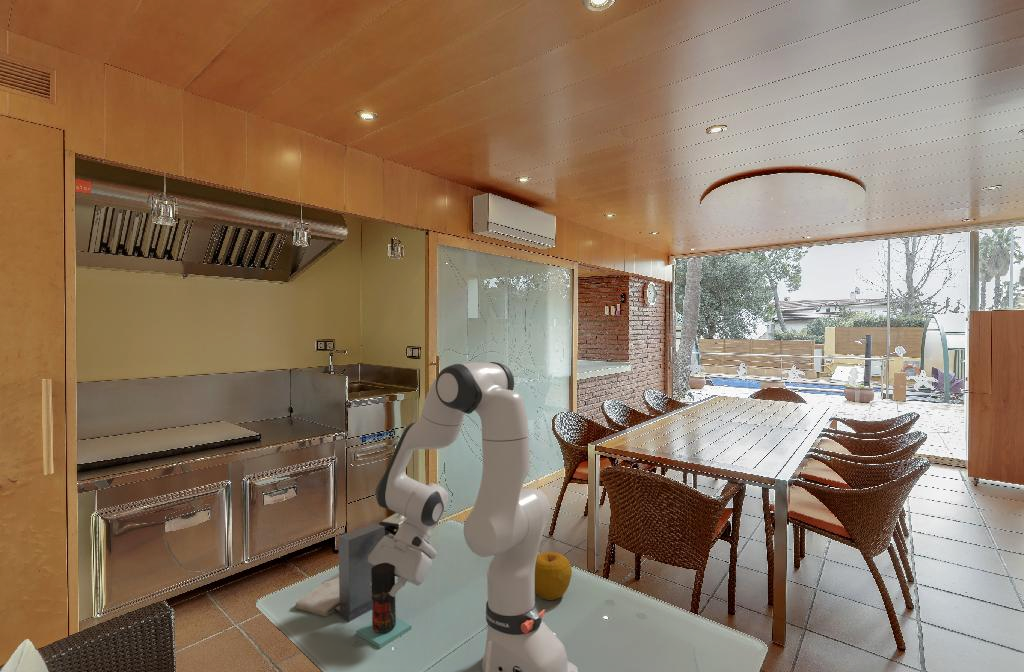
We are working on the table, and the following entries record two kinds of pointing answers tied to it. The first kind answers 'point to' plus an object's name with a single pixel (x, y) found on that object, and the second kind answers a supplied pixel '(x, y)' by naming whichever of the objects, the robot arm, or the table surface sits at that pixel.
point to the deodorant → (383, 597)
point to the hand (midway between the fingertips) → (381, 591)
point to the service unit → (356, 570)
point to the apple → (552, 575)
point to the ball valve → (392, 523)
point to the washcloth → (321, 598)
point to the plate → (383, 633)
